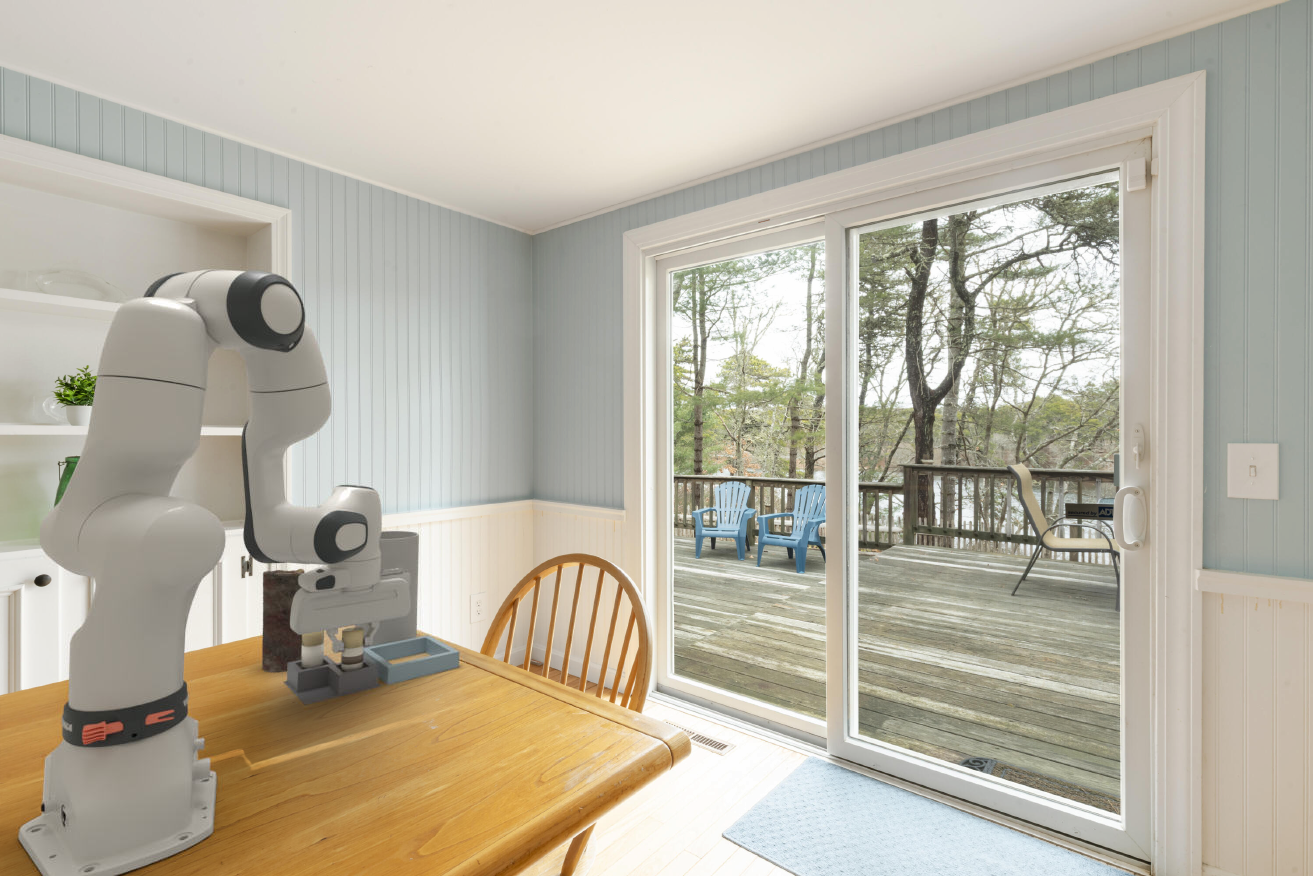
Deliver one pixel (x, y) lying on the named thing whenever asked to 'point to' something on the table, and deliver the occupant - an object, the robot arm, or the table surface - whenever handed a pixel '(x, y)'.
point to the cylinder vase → (403, 553)
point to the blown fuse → (352, 649)
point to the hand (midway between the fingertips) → (352, 648)
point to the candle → (279, 620)
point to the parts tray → (390, 674)
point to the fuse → (312, 650)
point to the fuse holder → (329, 680)
